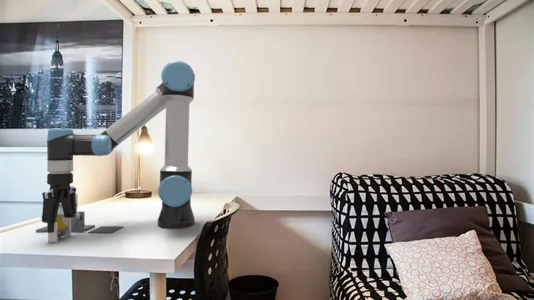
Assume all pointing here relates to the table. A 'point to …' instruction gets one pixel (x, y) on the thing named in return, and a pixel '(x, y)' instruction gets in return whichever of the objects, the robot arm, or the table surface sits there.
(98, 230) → the seat pad
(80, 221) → the grey vise
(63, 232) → the yellow cone
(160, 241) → the table surface
